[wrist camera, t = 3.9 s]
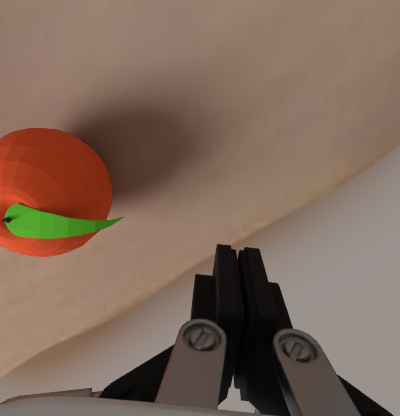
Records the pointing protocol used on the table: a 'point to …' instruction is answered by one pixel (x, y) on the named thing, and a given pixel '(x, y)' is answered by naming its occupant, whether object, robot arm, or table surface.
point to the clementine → (51, 192)
